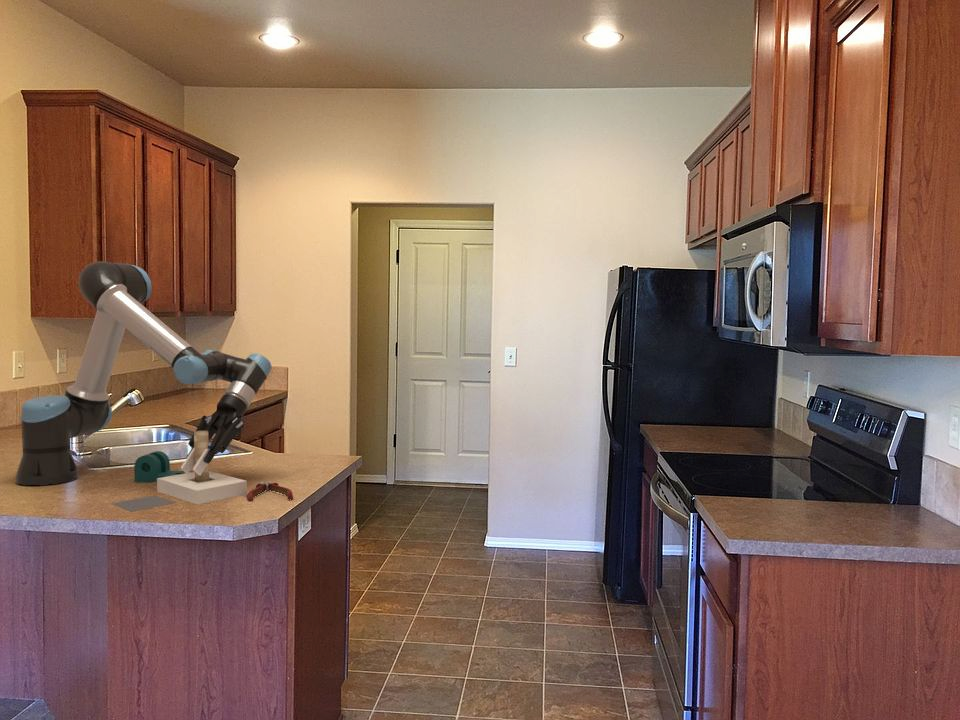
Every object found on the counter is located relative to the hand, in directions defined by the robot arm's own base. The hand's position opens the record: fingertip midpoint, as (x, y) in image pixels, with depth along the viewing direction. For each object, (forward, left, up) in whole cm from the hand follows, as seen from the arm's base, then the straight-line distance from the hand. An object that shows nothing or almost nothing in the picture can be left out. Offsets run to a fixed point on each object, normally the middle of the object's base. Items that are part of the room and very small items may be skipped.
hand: (190, 471), depth 184 cm
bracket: (-22, +6, -7) cm, 24 cm away
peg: (-1, +4, -4) cm, 6 cm away
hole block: (-1, +4, -7) cm, 8 cm away
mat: (-2, -11, -7) cm, 13 cm away
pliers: (+12, +17, -8) cm, 22 cm away
